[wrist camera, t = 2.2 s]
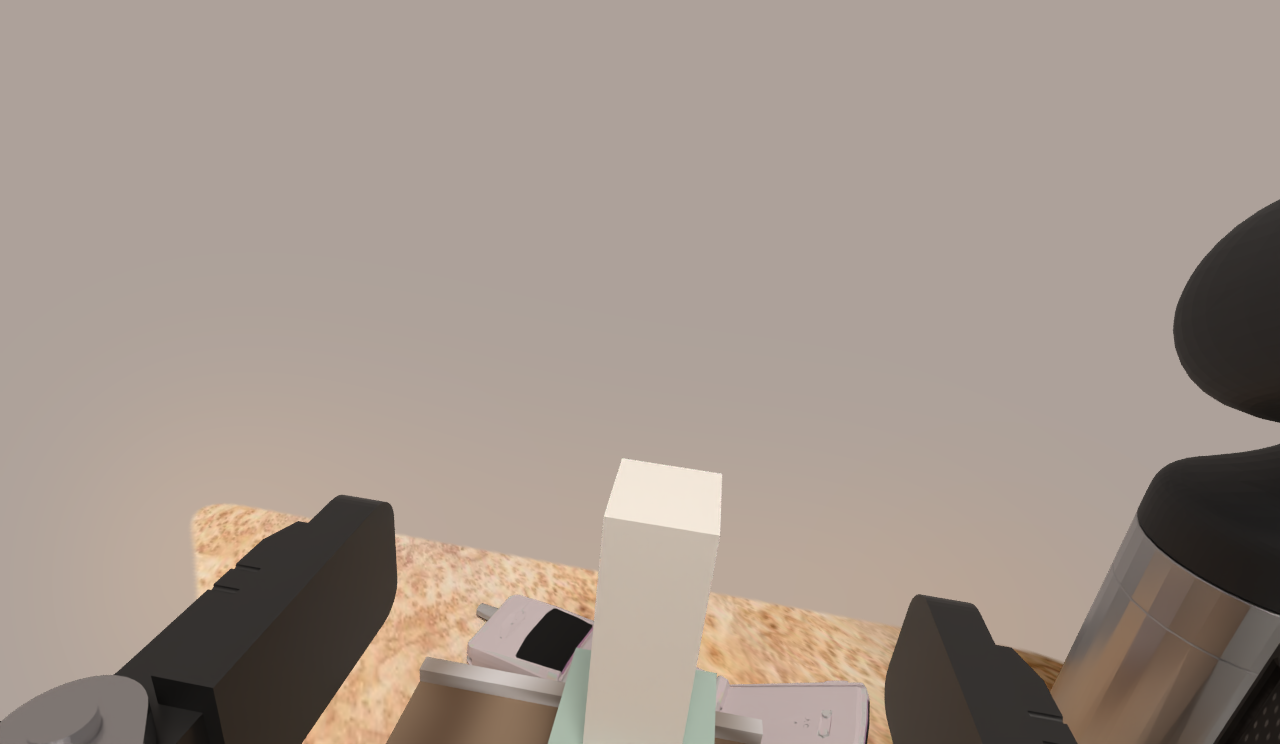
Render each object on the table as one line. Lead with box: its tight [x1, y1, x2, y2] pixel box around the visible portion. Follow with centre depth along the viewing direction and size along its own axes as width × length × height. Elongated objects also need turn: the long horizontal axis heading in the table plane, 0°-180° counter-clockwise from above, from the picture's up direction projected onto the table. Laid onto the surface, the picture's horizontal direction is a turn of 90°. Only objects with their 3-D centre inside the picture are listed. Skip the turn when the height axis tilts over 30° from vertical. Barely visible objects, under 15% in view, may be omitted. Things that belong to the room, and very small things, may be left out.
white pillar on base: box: [548, 458, 722, 744], centre depth 26 cm, size 7×7×14 cm
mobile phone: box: [467, 595, 870, 744], centre depth 38 cm, size 6×6×25 cm
